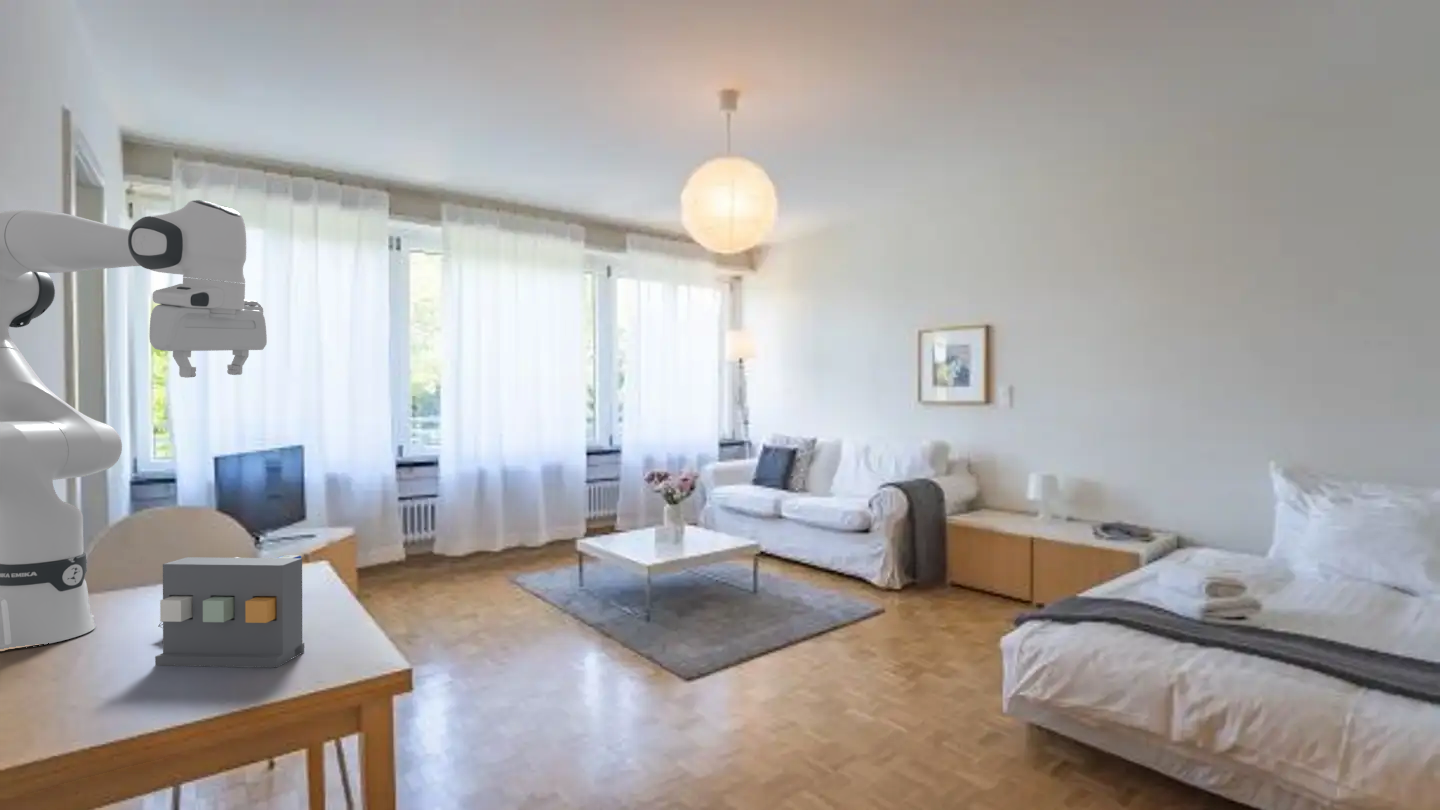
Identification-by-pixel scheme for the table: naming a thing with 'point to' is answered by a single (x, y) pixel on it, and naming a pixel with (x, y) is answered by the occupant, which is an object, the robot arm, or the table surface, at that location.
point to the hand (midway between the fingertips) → (212, 375)
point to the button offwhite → (176, 608)
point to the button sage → (219, 609)
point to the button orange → (261, 609)
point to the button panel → (235, 637)
